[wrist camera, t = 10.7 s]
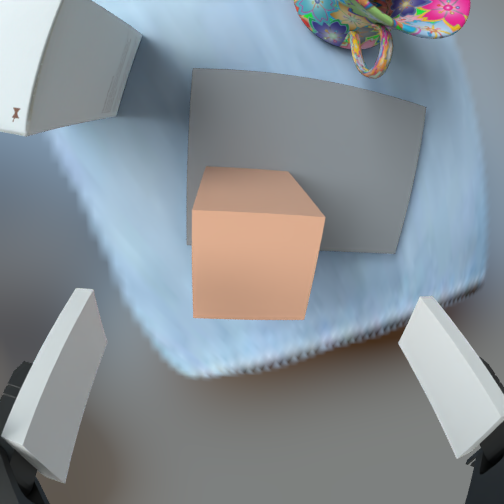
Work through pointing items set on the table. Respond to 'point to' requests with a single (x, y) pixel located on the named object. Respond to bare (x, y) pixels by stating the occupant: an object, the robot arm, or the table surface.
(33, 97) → the supplement box
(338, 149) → the board
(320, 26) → the mug
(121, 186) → the table surface
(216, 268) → the peach tan brick
